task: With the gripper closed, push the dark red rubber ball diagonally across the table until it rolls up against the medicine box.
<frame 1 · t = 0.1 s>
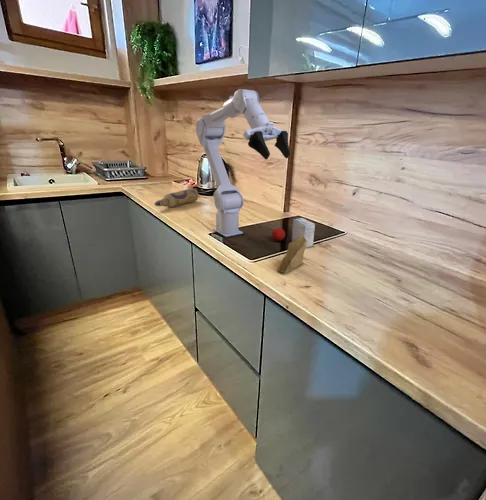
hand: (278, 156, 88), 32 cm above the table, tool tilted 50°, fingers open, 7 cm apart
medicine box: (301, 244, 112), on the table
decorative bottle: (176, 205, 154), on the table
rock: (289, 267, 94), on the table
ball: (278, 234, 113), point 2 cm above the table
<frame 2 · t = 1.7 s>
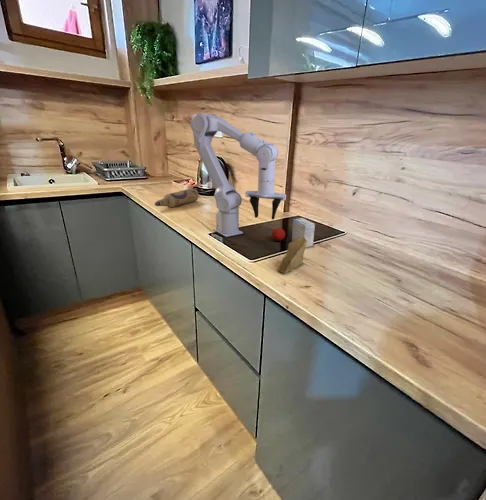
hand: (264, 217, 112), 8 cm above the table, tool pointing down, fingers open, 6 cm apart
nothing on the table moved.
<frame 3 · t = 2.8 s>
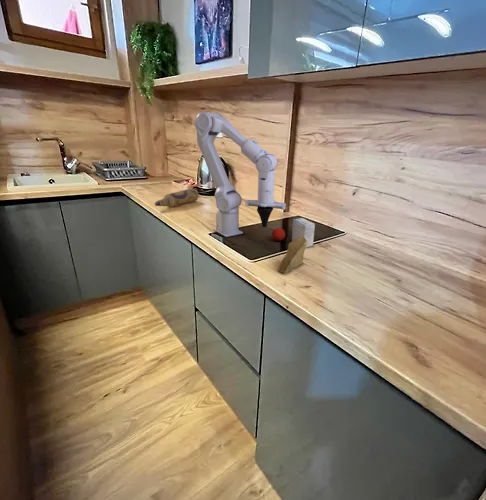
hand: (264, 226, 113), 5 cm above the table, tool pointing down, fingers closed
nothing on the table moved.
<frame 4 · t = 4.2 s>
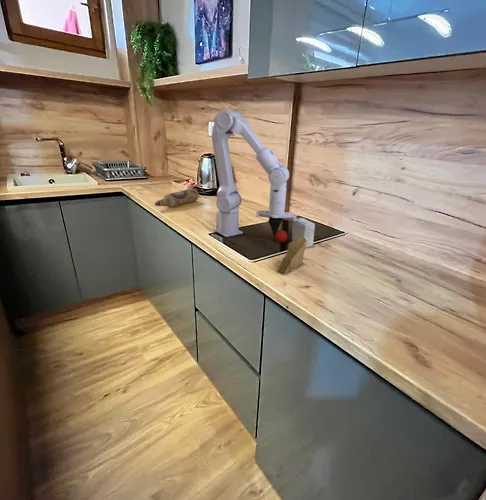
hand: (274, 236, 114), 1 cm above the table, tool pointing down, fingers closed, pressing on ball
ball: (280, 236, 113), point 2 cm above the table, tilted 22°, touching gripper
everything else where it was.
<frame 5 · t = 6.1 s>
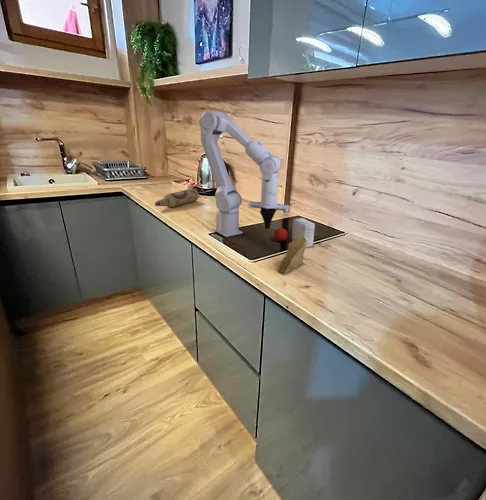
hand: (267, 228, 113), 5 cm above the table, tool pointing down, fingers closed
ball: (281, 234, 113), point 2 cm above the table, tilted 23°
everything else where it was.
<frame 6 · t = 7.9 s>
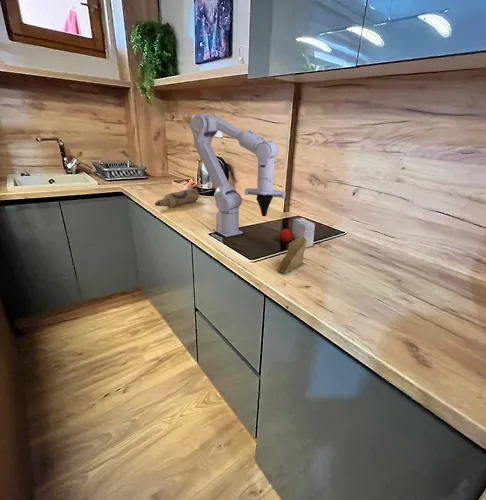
hand: (264, 215, 111), 9 cm above the table, tool pointing down, fingers closed
ball: (286, 235, 112), point 2 cm above the table, tilted 68°
everything else where it was.
at the end: ball 6.1 cm from the medicine box (horizontally); ball moved 2.9 cm from its start; medicine box moved 0.2 cm from its start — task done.
